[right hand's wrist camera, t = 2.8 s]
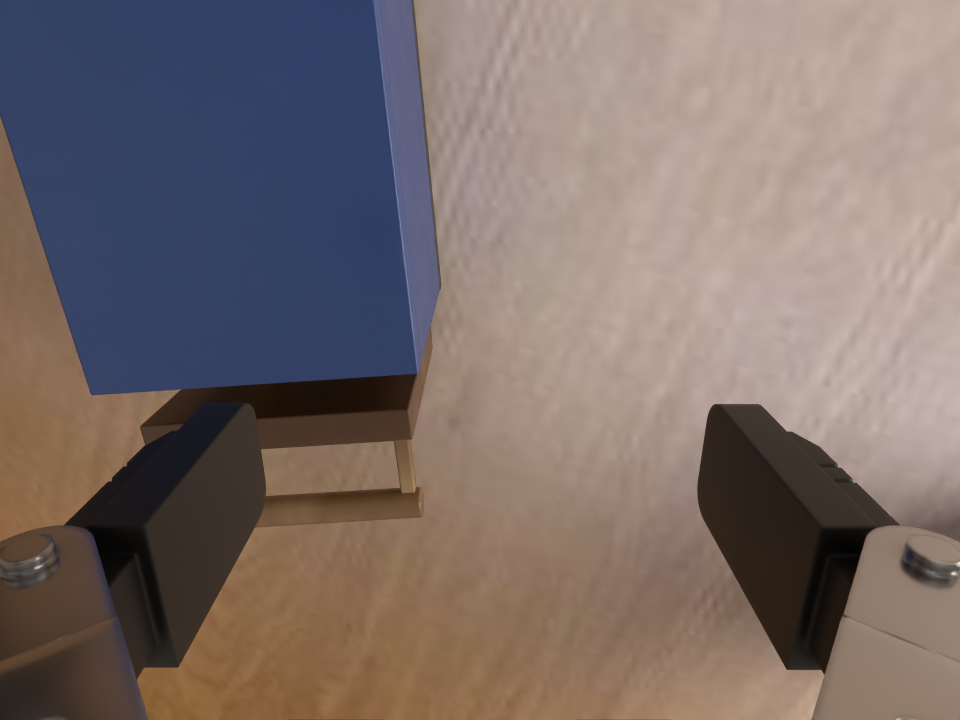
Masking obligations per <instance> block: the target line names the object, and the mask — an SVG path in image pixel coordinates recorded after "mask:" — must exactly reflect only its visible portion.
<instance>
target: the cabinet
mask: <svg viewBox="0 0 960 720" xmlns="http://www.w3.org/2000/svg"><path fill="white" fill-rule="evenodd" d="M0 116H1V119H2V122H3V125H4V128H5V131H6V134H7V138H8V141H9V144H10V147H11V150H12V153H13V156H14V159H15V162H16V165H17V168H18V171H19V174H20V178H21V181H22V184H23V187H24V190H25V193H26V196H27V199H28V202H29V205H30V208H31V211H32V214H33V218H34V221H35V224H36V227H37V230H38V233H39V236H40V239H41V242H42V245H43V248H44V251H45V254H46V257H47V261H48V264H49V267H50V270H51V273H52V276H53V279H54V282H55V285H56V288H57V291H58V294H59V297H60V301H61V304H62V307H63V310H64V313H65V316H66V319H67V322H68V325H69V328H70V331H71V334H72V337H73V341H74V344H75V347H76V350H77V353H78V356H79V359H80V362H81V365H82V368H83V371H84V374H85V377H86V380H87V384H88V387H89V390H90V393H91V395H103V394H118V393H133V392H148V391H163V390H178V389H194V388H209V387H224V386H239V385H254V384H269V383H284V382H299V381H314V380H329V379H344V378H359V377H374V376H390V375H405V374H417V373H418V372H419V369H420V365H421V360H422V356H423V352H424V348H425V344H426V341H427V337H428V333H429V329H430V325H431V321H432V317H433V313H434V309H435V305H436V301H437V297H438V293H439V290H440V289H441V277H440V267H439V257H438V247H437V236H436V226H435V216H434V206H433V195H432V185H431V175H430V165H429V155H428V144H427V134H426V124H425V114H424V103H423V93H422V83H421V73H420V62H419V52H418V42H417V32H416V22H415V11H414V1H413V0H0Z"/></svg>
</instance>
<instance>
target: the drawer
mask: <svg viewBox="0 0 960 720" xmlns="http://www.w3.org/2000/svg"><path fill="white" fill-rule="evenodd" d="M432 348H433V346H432V336H431V327H430V329H429V333H428V337H427V341H426V344H425V348H424V352H423V356H422V360H421V365H420V369H419V372H418V373H417V374H405V375H390V376H374V377H359V378H344V379H329V380H314V381H299V382H284V383H269V384H254V385H239V386H224V387H209V388H194V389H181V390H180V391H179V392H178V393H177V394H176V395H175V396H173V397H172V398H171V399H170V400H169V401H168V402H167V403H166V404H165V405H163V406H162V407H161V408H160V409H159V410H158V411H157V412H156V413H154V414H153V415H152V416H151V417H150V418H149V419H148V420H147V421H146V422H144V423H143V424H142V425H141V426H140V429H141V432H142V436H143V439H144V442H145V445H147V444H149V443H150V442H152V441H154V440H156V439H158V438H160V437H161V436H163V435H165V434H167V433H169V432H171V431H178V430H179V428H180V427H181V426H182V425H183V424H184V423H185V422H186V421H187V420H188V419H189V418H190V417H191V416H192V415H193V414H194V413H195V412H196V411H197V410H198V409H199V408H200V407H201V406H202V405H203V404H205V403H249V404H250V405H251V406H252V407H253V409H254V411H255V415H256V420H257V426H258V433H259V440H260V447H261V449H271V448H287V447H303V446H319V445H334V444H350V443H366V442H382V441H394V444H395V452H396V459H397V466H398V473H399V480H400V488H392V489H375V490H359V491H342V492H326V493H310V494H293V495H277V496H265V503H264V508H263V512H262V514H261V517H260V519H259V521H258V522H257V524H256V526H255V527H268V526H285V525H302V524H319V523H336V522H352V521H369V520H386V519H403V518H420V517H422V516H423V514H424V495H423V490H422V488H421V487H416V479H415V471H414V463H413V455H412V447H411V439H412V438H413V434H414V430H415V425H416V421H417V416H418V411H419V407H420V402H421V398H422V393H423V389H424V384H425V380H426V375H427V371H428V366H429V361H430V357H431V352H432Z"/></svg>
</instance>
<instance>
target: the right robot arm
mask: <svg viewBox="0 0 960 720" xmlns="http://www.w3.org/2000/svg"><path fill="white" fill-rule="evenodd" d="M697 491H698V503H699V508H700V512H701V515H702V517H703V519H704V521H705V523H706V525H707V527H708V528H709V530H710V532H711V534H712V536H713V537H714V539H715V541H716V543H717V545H718V546H719V548H720V550H721V552H722V554H723V555H724V557H725V559H726V561H727V563H728V564H729V566H730V568H731V570H732V572H733V573H734V575H735V577H736V579H737V581H738V583H739V584H740V586H741V588H742V590H743V592H744V593H745V595H746V597H747V599H748V601H749V602H750V604H751V606H752V608H753V610H754V611H755V613H756V615H757V617H758V619H759V620H760V622H761V624H762V626H763V628H764V629H765V631H766V633H767V635H768V637H769V638H770V640H771V642H772V644H773V646H774V648H775V649H776V651H777V653H778V655H779V657H780V658H781V660H782V662H783V664H784V666H785V667H786V669H787V670H822V672H823V673H824V675H825V676H824V679H823V682H822V686H821V689H820V693H819V696H818V699H817V703H816V706H815V710H814V713H813V716H812V720H960V542H959V541H957V540H954V539H952V538H950V537H947V536H945V535H942V534H939V533H936V532H933V531H929V530H926V529H921V528H916V527H910V526H900V525H899V524H898V523H897V522H896V521H895V520H894V519H893V518H892V517H891V516H890V515H889V514H888V513H887V512H886V511H885V510H884V509H883V508H882V507H881V506H880V505H879V504H878V503H877V502H876V501H875V500H873V499H872V498H871V497H870V496H869V495H868V494H867V493H866V492H865V491H864V490H863V489H862V488H861V487H860V486H859V485H858V484H857V483H853V479H852V478H851V477H850V476H849V475H848V474H847V473H846V472H845V471H844V470H843V469H842V468H838V467H837V463H836V462H835V461H834V460H832V459H831V458H830V457H829V456H828V455H827V454H826V453H825V452H824V451H823V450H822V449H821V448H820V447H819V446H817V445H815V444H813V443H812V442H810V441H808V440H806V439H804V438H802V437H801V436H799V435H797V434H795V433H793V432H787V431H786V430H785V429H784V428H783V427H782V426H781V425H780V424H779V423H778V422H777V421H776V420H775V419H774V418H773V417H772V416H771V415H770V414H769V413H768V412H767V411H766V410H765V409H764V408H763V407H762V406H761V405H759V404H715V405H713V406H712V407H711V409H710V411H709V414H708V418H707V423H706V430H705V437H704V444H703V450H702V457H701V464H700V471H699V477H698V488H697ZM265 495H266V482H265V474H264V467H263V461H262V454H261V447H260V440H259V433H258V426H257V420H256V415H255V411H254V409H253V407H252V406H251V405H250V404H249V403H205V404H203V405H202V406H201V407H200V408H199V409H198V410H197V411H196V412H195V413H194V414H193V415H192V416H191V417H190V418H189V419H188V420H187V421H186V422H185V423H184V424H183V425H182V426H181V427H180V428H179V430H178V431H171V432H169V433H167V434H165V435H163V436H161V437H160V438H158V439H156V440H154V441H152V442H150V443H149V444H147V445H145V446H144V447H143V448H142V449H141V450H140V451H139V452H138V453H137V454H136V455H135V456H134V457H133V458H132V459H131V460H130V461H129V462H128V463H127V467H123V468H122V469H121V470H120V471H118V472H117V473H116V474H115V475H114V476H113V477H112V482H107V483H106V484H105V485H104V486H103V487H102V488H101V489H100V490H99V491H98V492H97V493H96V494H95V495H94V496H93V497H92V498H91V499H90V500H89V501H88V502H87V503H86V504H85V505H84V506H83V507H82V508H81V509H80V510H79V511H78V512H77V513H76V514H75V515H74V516H73V517H72V518H71V519H70V520H69V521H68V522H67V523H66V524H65V525H63V526H50V527H44V528H39V529H34V530H31V531H27V532H24V533H21V534H18V535H15V536H13V537H10V538H8V539H6V540H3V541H1V542H0V720H148V716H147V713H146V710H145V706H144V703H143V699H142V696H141V693H140V689H139V686H138V682H137V678H138V676H139V675H140V673H141V672H142V670H143V668H144V667H179V665H180V663H181V661H182V660H183V658H184V656H185V654H186V652H187V650H188V649H189V647H190V645H191V643H192V641H193V639H194V638H195V636H196V634H197V632H198V630H199V628H200V627H201V625H202V623H203V621H204V619H205V617H206V616H207V614H208V612H209V610H210V608H211V607H212V605H213V603H214V601H215V599H216V597H217V596H218V594H219V592H220V590H221V588H222V586H223V585H224V583H225V581H226V579H227V577H228V575H229V574H230V572H231V570H232V568H233V566H234V564H235V563H236V561H237V559H238V557H239V555H240V554H241V552H242V550H243V548H244V546H245V544H246V543H247V541H248V539H249V537H250V535H251V533H252V532H253V530H254V528H255V526H256V524H257V522H258V521H259V519H260V517H261V514H262V512H263V508H264V503H265Z"/></svg>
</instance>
